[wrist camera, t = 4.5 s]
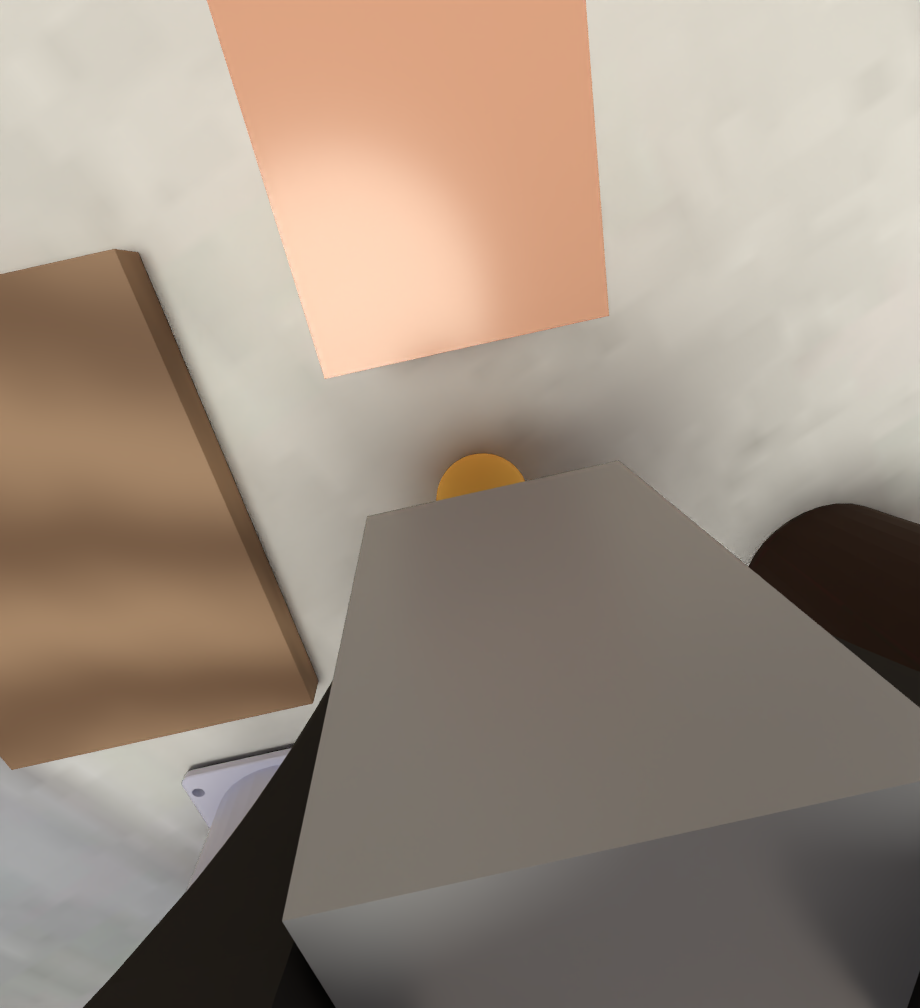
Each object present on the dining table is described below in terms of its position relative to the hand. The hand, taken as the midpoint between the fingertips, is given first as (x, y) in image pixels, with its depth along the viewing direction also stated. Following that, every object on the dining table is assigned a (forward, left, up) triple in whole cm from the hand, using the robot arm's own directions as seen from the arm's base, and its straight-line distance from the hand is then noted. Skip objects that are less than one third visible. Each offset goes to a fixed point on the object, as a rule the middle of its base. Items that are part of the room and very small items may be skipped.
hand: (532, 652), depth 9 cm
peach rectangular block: (+8, 0, -9) cm, 12 cm away
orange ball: (0, 0, -9) cm, 9 cm away
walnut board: (+1, +14, -9) cm, 17 cm away
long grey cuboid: (0, 0, -2) cm, 2 cm away
